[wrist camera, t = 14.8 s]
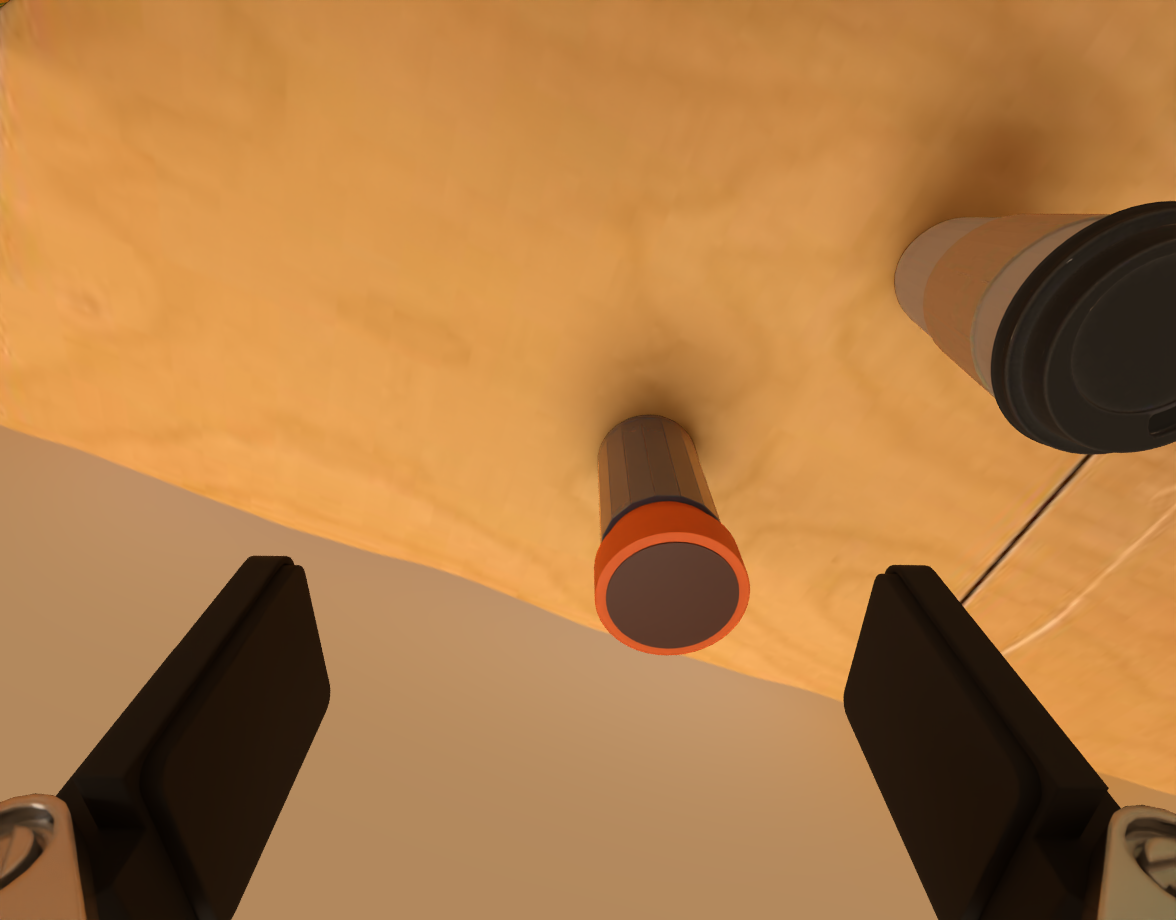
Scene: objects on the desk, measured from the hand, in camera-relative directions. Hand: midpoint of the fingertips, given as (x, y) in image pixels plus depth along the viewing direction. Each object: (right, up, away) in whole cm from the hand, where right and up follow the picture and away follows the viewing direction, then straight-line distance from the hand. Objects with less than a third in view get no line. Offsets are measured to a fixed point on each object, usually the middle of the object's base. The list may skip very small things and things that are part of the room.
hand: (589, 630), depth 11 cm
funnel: (+4, +1, +27) cm, 27 cm away
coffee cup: (+20, +13, +25) cm, 35 cm away
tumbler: (+4, +3, +30) cm, 31 cm away
